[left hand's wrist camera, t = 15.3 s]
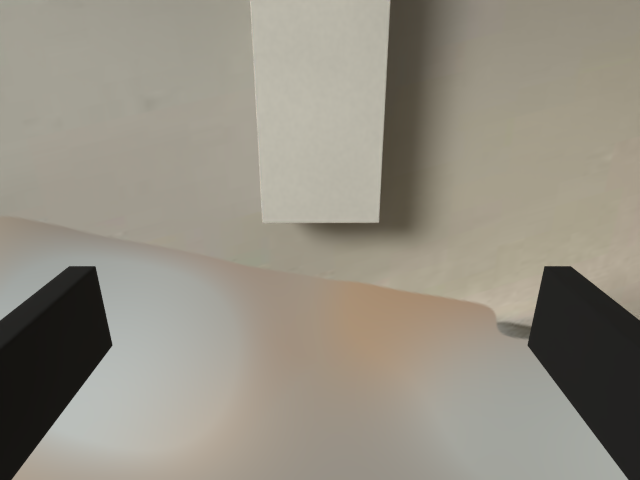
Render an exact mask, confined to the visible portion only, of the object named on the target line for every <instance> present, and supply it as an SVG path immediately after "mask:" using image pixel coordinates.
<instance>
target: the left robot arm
mask: <svg viewBox="0 0 640 480" xmlns="http://www.w3.org/2000/svg"><path fill="white" fill-rule="evenodd" d="M111 347H112V341H111V336H110V332H109V327H108V323H107V318H106V313H105V309H104V304H103V300H102V295H101V290H100V285H99V281H98V276H97V271H96V267H95V266H69V267H68V268H67V269H65V270H64V271H63V272H61V273H60V274H59V275H58V276H56V277H55V278H54V279H53V280H51V281H50V282H49V283H47V284H46V285H45V286H44V287H42V288H41V289H40V290H39V291H37V292H36V293H35V294H34V295H32V296H31V297H30V298H28V299H27V300H26V301H25V302H23V303H22V304H21V305H20V306H18V307H17V308H16V309H14V310H13V311H12V312H11V313H9V314H8V315H7V316H6V317H4V318H3V319H2V320H0V480H12V478H13V477H14V476H15V474H16V473H17V472H18V470H19V469H20V468H21V466H22V465H23V464H24V462H25V461H26V460H27V458H28V457H29V456H30V454H31V453H32V452H33V450H34V449H35V448H36V446H37V445H38V444H39V442H40V441H41V440H42V438H43V437H44V436H45V434H46V433H47V432H48V430H49V429H50V428H51V426H52V425H53V424H54V422H55V421H56V420H57V418H58V417H59V416H60V414H61V413H62V412H63V410H64V409H65V408H66V406H67V405H68V404H69V402H70V401H71V400H72V398H73V397H74V396H75V394H76V393H77V392H78V391H79V389H80V388H81V387H82V385H83V384H84V383H85V381H86V380H87V379H88V377H89V376H90V375H91V373H92V372H93V371H94V369H95V368H96V367H97V365H98V364H99V363H100V361H101V360H102V359H103V357H104V356H105V355H106V353H107V352H108V351H109V349H110V348H111ZM528 347H529V348H530V349H531V351H532V352H533V353H534V355H535V356H536V357H537V359H538V360H539V361H540V363H541V364H542V365H543V367H544V368H545V369H546V370H547V372H548V373H549V375H550V376H551V377H552V378H553V380H554V381H555V383H556V384H557V385H558V386H559V388H560V389H561V390H562V392H563V393H564V394H565V396H566V397H567V398H568V400H569V401H570V402H571V404H572V405H573V406H574V408H575V409H576V410H577V412H578V413H579V414H580V416H581V417H582V418H583V420H584V421H585V422H586V424H587V425H588V426H589V428H590V429H591V430H592V432H593V433H594V434H595V436H596V437H597V438H598V440H599V441H600V442H601V444H602V445H603V446H604V448H605V449H606V450H607V452H608V453H609V454H610V456H611V457H612V458H613V460H614V461H615V462H616V464H617V465H618V466H619V468H620V469H621V470H622V472H623V473H624V474H625V476H626V477H627V478H628V480H640V320H638V319H637V318H636V317H635V316H633V315H632V314H631V313H629V312H628V311H627V310H626V309H624V308H623V307H622V306H621V305H619V304H618V303H617V302H615V301H614V300H613V299H612V298H610V297H609V296H608V295H607V294H605V293H604V292H603V291H601V290H600V289H599V288H598V287H596V286H595V285H594V284H593V283H591V282H590V281H589V280H587V279H586V278H585V277H584V276H582V275H581V274H580V273H579V272H577V271H576V270H575V269H573V268H572V267H571V266H545V267H544V271H543V276H542V281H541V285H540V290H539V295H538V299H537V304H536V309H535V313H534V318H533V323H532V327H531V332H530V336H529V341H528Z"/></svg>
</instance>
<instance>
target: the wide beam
mask: <svg viewBox="0 0 640 480" xmlns="http://www.w3.org/2000/svg"><path fill="white" fill-rule="evenodd" d="M390 1H391V0H250V7H251V25H252V43H253V61H254V79H255V97H256V115H257V133H258V151H259V169H260V187H261V205H262V222H263V223H379V215H380V195H381V176H382V156H383V137H384V117H385V98H386V78H387V59H388V40H389V20H390Z"/></svg>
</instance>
